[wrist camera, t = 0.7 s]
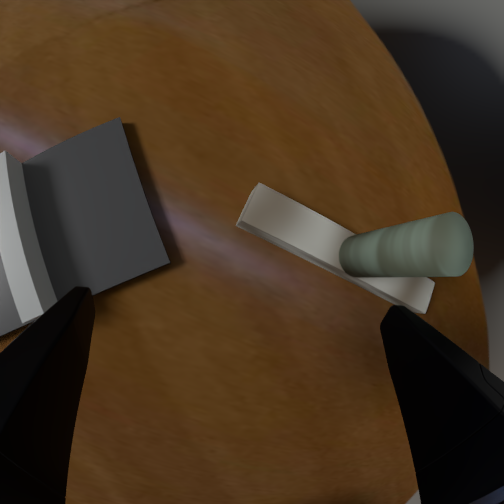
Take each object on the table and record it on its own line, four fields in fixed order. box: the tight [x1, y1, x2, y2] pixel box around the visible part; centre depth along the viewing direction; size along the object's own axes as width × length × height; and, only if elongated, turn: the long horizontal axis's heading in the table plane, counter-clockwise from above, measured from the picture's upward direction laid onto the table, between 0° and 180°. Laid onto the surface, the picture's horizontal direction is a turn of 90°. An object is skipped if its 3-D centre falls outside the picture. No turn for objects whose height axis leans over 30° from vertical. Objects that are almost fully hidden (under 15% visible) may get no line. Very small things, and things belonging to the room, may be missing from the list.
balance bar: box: [236, 183, 473, 314], centre depth 19 cm, size 18×3×12 cm, turn 66°
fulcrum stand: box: [0, 117, 171, 337], centre depth 17 cm, size 12×20×4 cm, turn 113°
